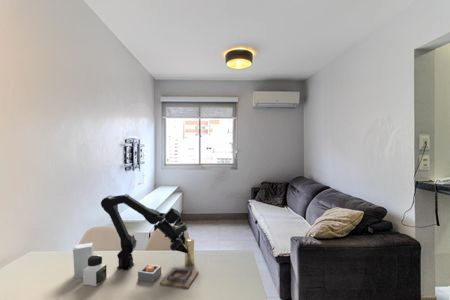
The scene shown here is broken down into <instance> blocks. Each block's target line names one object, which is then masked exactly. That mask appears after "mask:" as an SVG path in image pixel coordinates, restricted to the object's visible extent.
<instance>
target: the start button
mask: <svg viewBox="0 0 450 300" xmlns="http://www.w3.org/2000/svg"><path fill="white" fill-rule="evenodd" d="M152 265H153V264H151V265H150V266H147V267H146V272H153V271H154V266H152Z"/></svg>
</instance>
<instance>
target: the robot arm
mask: <svg viewBox="0 0 450 300" xmlns="http://www.w3.org/2000/svg"><path fill="white" fill-rule="evenodd" d="M120 204H124V205H126V206H127V207H129V208H131V209H132V210H134V211H136V212H137V213H138V214H140V215H142V217H143V218H144V219H145V221H147V222H148V223H149V224H150V225H153V231H154V232H156V231H157V229H158V230H159V231H160V232H161V233H162V234H164V237H165V238H168V239H169V242H170V246H169V247H170V250H171V251H172V252H173V251H174V252H175V251H176V252H180V253H183V254H185V253H188V252H189V251H188V250H187V249H186V248H185V240H186V239H187V238H186V237H185V232H187V230H188V226H187V223H186V222H184V221H180V222H179V223H178V225H177V226H175V225H174V224H175V223H176V222H178V220H179V219H180V218H181V217H182V214H181V213H180V211H178V210H177V209H175V208H173V207H171V208H170V209H169V211H168V210H167V211H168V212H160V211H158V210H156V209H153V208H151V207H150V208H149V207H147V206H146V205H144V204H143V203H141V202H139V201H138V200H136V199H135V198H133V197H132V196H130V195H129V194H128V193H126V194H121V195H115V196H114V195H108V196H106V197H104V198H102V200H101V202H100V206H101V208H102V209H103V211H105V212H106V214H108V215H109V217H110V220H111V221H112V224H113V226H114V228H115V231H116V233H117V234H118V237H119V240H120V249H121V250H120V251H119V252H118V253H117V258H118V259H117V260H118V266H116V269H118V270H125V271H127V270H129V269H131V268H132V267H133V266H134V265H135V263H134V258H133V252H134V250H135V249H136V247H137V242H138V241H137V240H136V238H135V235H134V234H133V235H130V234H129V232H128V229H127V227H126V225H125V222H124V221H123V218H122V217H121V214H120V212H119V206H118V205H120Z"/></svg>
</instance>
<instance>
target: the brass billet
mask: <svg viewBox="0 0 450 300" xmlns="http://www.w3.org/2000/svg"><path fill="white" fill-rule="evenodd" d="M184 246H185V248H186V249H187V250H188V251H189V252H188V253H184V265H185V266H186V267H192V266H194V265H195V239H193V238H186V240H185V245H184Z"/></svg>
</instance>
